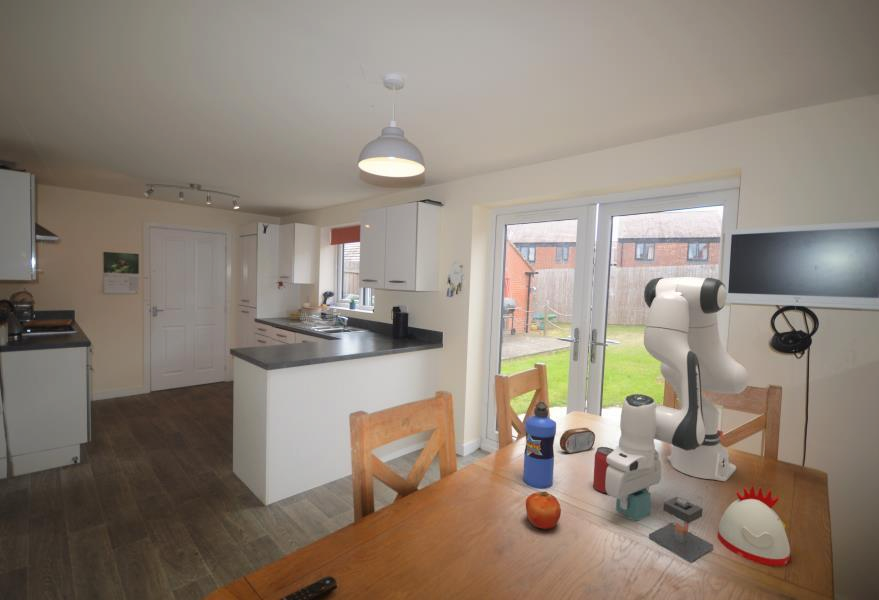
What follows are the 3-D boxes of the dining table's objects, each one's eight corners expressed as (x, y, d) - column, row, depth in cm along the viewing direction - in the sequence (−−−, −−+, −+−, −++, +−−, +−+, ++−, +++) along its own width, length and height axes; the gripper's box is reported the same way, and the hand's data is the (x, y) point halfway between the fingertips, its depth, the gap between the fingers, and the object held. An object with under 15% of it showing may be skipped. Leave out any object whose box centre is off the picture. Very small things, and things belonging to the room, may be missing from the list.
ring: (676, 504, 104) (677, 496, 103) (702, 516, 98) (702, 508, 98) (663, 510, 100) (663, 502, 100) (688, 523, 95) (689, 515, 95)
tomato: (541, 538, 100) (542, 506, 100) (517, 518, 108) (518, 488, 108) (569, 528, 104) (570, 498, 104) (544, 510, 112) (545, 481, 112)
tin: (589, 447, 157) (591, 425, 157) (596, 450, 154) (597, 428, 154) (558, 452, 151) (559, 430, 150) (564, 456, 148) (565, 433, 148)
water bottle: (541, 492, 122) (545, 409, 121) (516, 479, 129) (520, 401, 128) (559, 482, 128) (563, 403, 127) (534, 471, 135) (537, 396, 134)
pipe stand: (671, 526, 107) (674, 485, 106) (713, 548, 98) (716, 504, 98) (648, 538, 101) (651, 494, 101) (690, 562, 93) (694, 515, 92)
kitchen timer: (794, 574, 90) (800, 508, 90) (719, 551, 98) (723, 489, 97) (783, 541, 102) (788, 482, 101) (716, 522, 109) (720, 467, 109)
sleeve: (629, 504, 117) (630, 483, 117) (649, 514, 112) (650, 493, 111) (616, 509, 114) (617, 488, 114) (636, 520, 109) (637, 498, 108)
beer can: (618, 496, 121) (620, 456, 121) (594, 492, 123) (597, 453, 122) (613, 485, 128) (615, 447, 127) (591, 482, 129) (593, 445, 128)
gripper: (647, 444, 120) (644, 490, 121) (602, 458, 109) (599, 508, 110) (669, 452, 115) (665, 500, 115) (623, 467, 104) (620, 520, 105)
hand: (633, 504), depth 113 cm, fingers closed on sleeve, 6 cm apart
